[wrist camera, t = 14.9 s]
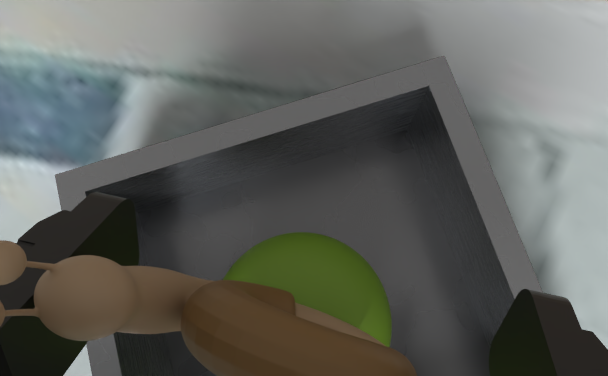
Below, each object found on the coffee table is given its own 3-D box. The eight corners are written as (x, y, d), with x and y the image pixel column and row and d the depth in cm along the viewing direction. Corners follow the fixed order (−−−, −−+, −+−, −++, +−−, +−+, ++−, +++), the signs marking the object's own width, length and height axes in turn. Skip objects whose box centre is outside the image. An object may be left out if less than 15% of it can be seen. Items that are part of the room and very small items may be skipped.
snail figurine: (233, 216, 17) (44, 72, 6) (396, 264, 17) (559, 213, 5) (185, 359, 16) (-163, 536, 5) (357, 417, 16) (448, 792, 4)
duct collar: (172, 591, 16) (105, 720, 11) (89, 184, 19) (11, 150, 14) (585, 456, 16) (693, 528, 11) (432, 79, 19) (466, 11, 14)
